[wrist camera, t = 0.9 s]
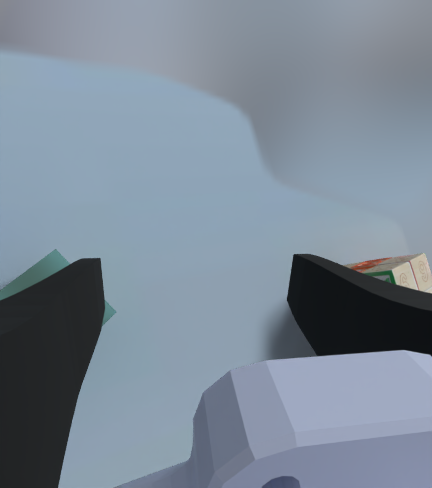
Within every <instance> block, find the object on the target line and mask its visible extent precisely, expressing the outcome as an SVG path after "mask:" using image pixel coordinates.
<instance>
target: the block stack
mask: <svg viewBox="0 0 432 488" xmlns="http://www.w3.org/2000/svg"><path fill="white" fill-rule="evenodd" d="M68 265H70V263H69V262H68V261H67V260H66V259H65V258H64V257H63V256H62V255H61V254H60V253H59V252H58V251H57V250H56V249H55V250H54V251H52V252H51V253H50V254H48V255H47V256H46V257H44V258H43V259H42V260H40V261H39V262H38V263H36V264H35V265H34V266H32V267H31V268H30V269H28V270H27V271H26V272H24V273H23V274H22V275H20V276H19V277H18V278H16V279H15V280H14V281H12V282H11V283H10V284H8V285H7V286H6V287H4V288H3V289H2V290H0V300H2V299H5V298H7V297H9V296H11V295H14V294H16V293H18V292H20V291H22V290H24V289H26V288H28V287H30V286H32V285H34V284H36V283H38V282H40V281H41V280H43V279H45V278H47V277H49V276H51V275H52V274H54V273H56V272H58V271H59V270H61V269H63V268H64V267H66V266H68ZM115 313H116V311H115V310H114V309H113V308H112V307H111V306H110V305H109V304H108V303H107V302H106V301H105V312H104V318H103V323H102V326H103V325H104V324H105V323H106V322H107V321H108V320H109V319H110V318H111V317H112V316H113V315H114V314H115Z"/></svg>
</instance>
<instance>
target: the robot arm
mask: <svg viewBox="0 0 432 488" xmlns="http://www.w3.org/2000/svg"><path fill="white" fill-rule="evenodd" d="M287 301H288V304H289V306H290V309H291V311H292V314H293V316H294V318H295V320H296V322H297V324H298V325H299V327H300V329H301V330H302V332H303V334H304V335H305V337H306V338H307V340H308V342H309V343H310V345H311V346H312V348H313V349H314V351H315V353H316V354H317V357H304V358H290V359H277V360H265V361H260V362H257V363H253V364H250V365H247V366H243V367H240V368H236V369H233V370H230V371H229V372H227V373H226V374H225V375H224V376H223V377H221V378H220V379H219V380H218V381H217V382H215V383H214V384H213V385H212V386H210V387H209V388H208V389H207V390H206V391H204V392H203V395H202V397H201V400H200V403H199V405H198V408H197V410H196V413H195V416H194V418H193V447H192V451H191V456H190V458H189V460H187V461H185V462H183V463H180V464H177V465H174V466H172V467H169V468H166V469H163V470H161V471H158V472H155V473H153V474H150V475H147V476H144V477H142V478H139V479H136V480H133V481H131V482H128V483H125V484H122V485H120V486H117V487H114V488H432V293H428V292H423V291H419V290H415V289H411V288H407V287H404V286H400V285H397V284H393V283H390V282H387V281H383V280H380V279H378V278H375V277H372V276H369V275H366V274H363V273H361V272H358V271H355V270H353V269H350V268H348V267H345V266H343V265H340V264H338V263H335V262H332V261H330V260H327V259H325V258H322V257H319V256H315V255H311V254H294V255H293V262H292V269H291V276H290V282H289V289H288V296H287ZM104 312H105V300H104V290H103V280H102V270H101V260H100V258H84V259H80V260H77V261H75V262H73V263H72V264H70V265H68V266H66V267H64V268H63V269H61V270H59V271H58V272H56V273H54V274H52V275H51V276H49V277H47V278H45V279H43V280H41V281H40V282H38V283H36V284H34V285H32V286H30V287H28V288H26V289H24V290H22V291H20V292H18V293H16V294H14V295H11V296H9V297H7V298H5V299H2V300H0V488H58V485H59V480H60V475H61V470H62V465H63V460H64V455H65V451H66V446H67V442H68V437H69V432H70V428H71V424H72V419H73V415H74V411H75V407H76V403H77V399H78V395H79V392H80V389H81V385H82V383H83V380H84V377H85V374H86V371H87V369H88V366H89V363H90V360H91V358H92V355H93V352H94V349H95V346H96V344H97V341H98V338H99V335H100V332H101V328H102V323H103V318H104Z"/></svg>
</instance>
